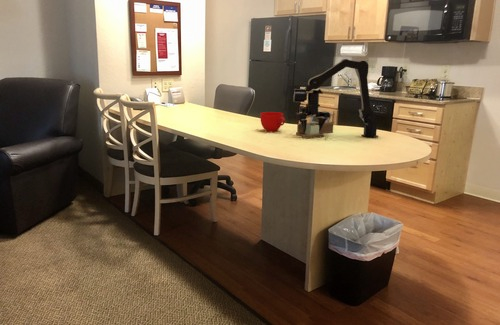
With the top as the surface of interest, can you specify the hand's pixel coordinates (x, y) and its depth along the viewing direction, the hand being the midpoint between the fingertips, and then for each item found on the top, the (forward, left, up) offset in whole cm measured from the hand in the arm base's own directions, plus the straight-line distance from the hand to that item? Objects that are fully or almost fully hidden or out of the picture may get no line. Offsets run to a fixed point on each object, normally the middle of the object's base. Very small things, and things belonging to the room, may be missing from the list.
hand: (311, 131), depth 209 cm
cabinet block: (0, 0, -3) cm, 3 cm away
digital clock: (+17, -16, -3) cm, 23 cm away
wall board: (0, -5, -2) cm, 6 cm away
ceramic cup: (+20, +13, -3) cm, 24 cm away
